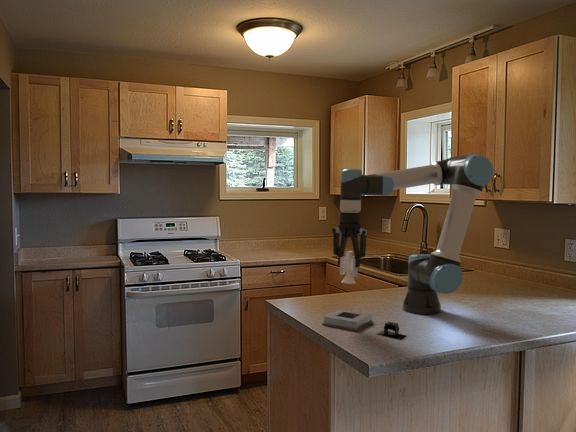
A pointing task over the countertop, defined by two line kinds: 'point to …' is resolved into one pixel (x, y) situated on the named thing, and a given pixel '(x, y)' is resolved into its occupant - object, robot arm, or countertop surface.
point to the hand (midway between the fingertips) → (348, 275)
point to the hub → (348, 320)
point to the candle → (349, 268)
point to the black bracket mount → (392, 327)
